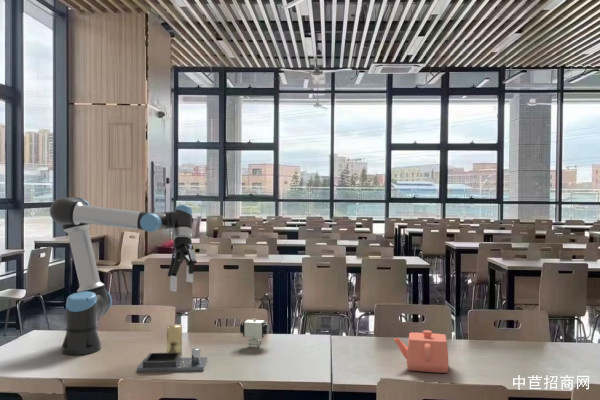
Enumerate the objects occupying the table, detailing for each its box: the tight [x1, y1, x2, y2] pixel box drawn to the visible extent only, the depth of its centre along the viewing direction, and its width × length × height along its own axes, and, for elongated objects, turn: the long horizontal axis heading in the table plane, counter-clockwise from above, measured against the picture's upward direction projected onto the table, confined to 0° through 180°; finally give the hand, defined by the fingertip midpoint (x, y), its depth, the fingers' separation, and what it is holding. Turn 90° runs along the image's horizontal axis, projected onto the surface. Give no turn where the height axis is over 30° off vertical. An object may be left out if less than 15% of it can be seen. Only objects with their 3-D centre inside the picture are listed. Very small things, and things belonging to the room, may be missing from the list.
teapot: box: [393, 329, 449, 374], centre depth 201 cm, size 20×22×14 cm
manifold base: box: [136, 347, 208, 373], centre depth 202 cm, size 24×12×6 cm, turn 93°
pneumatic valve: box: [239, 318, 270, 349], centre depth 230 cm, size 6×12×12 cm, turn 80°
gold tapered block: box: [166, 323, 183, 357], centre depth 216 cm, size 6×6×12 cm
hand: (181, 286), depth 222 cm, fingers open, 13 cm apart
